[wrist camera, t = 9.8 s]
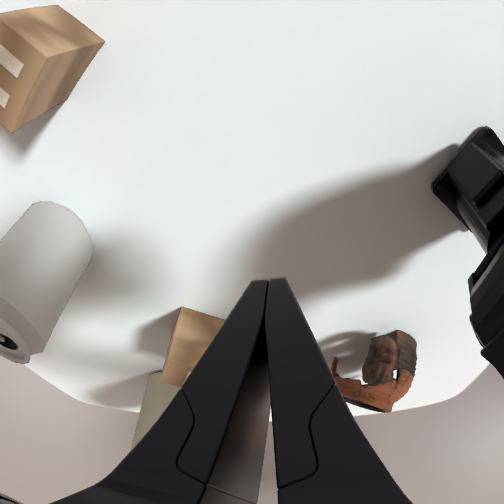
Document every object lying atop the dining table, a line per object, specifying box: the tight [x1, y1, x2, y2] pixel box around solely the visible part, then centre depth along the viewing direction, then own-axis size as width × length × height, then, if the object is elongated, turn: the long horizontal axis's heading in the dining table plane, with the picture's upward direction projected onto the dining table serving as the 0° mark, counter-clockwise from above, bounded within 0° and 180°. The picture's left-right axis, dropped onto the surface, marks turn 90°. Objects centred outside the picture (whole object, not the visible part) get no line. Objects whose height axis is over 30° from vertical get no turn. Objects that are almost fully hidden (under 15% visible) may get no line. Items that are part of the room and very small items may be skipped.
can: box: [0, 201, 93, 364], centre depth 20 cm, size 8×8×12 cm
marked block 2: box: [160, 307, 225, 388], centre depth 30 cm, size 5×5×6 cm
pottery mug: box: [331, 330, 417, 413], centre depth 31 cm, size 12×10×8 cm
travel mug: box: [131, 372, 182, 450], centre depth 35 cm, size 8×8×18 cm
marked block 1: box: [0, 5, 105, 134], centre depth 12 cm, size 5×5×6 cm
